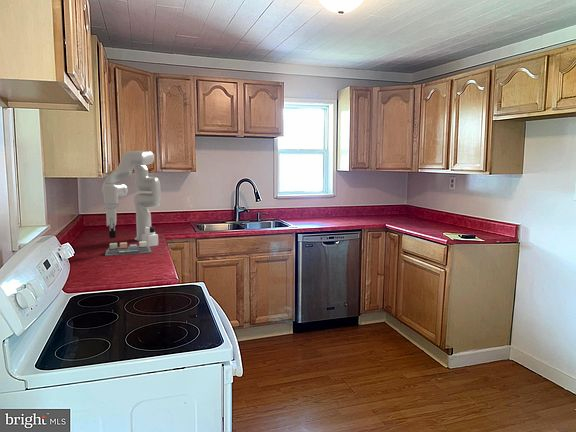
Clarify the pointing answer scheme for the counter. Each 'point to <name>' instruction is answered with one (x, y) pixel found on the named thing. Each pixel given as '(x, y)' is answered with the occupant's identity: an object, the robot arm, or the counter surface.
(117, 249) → the keypad board
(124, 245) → the terracotta key
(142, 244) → the cream key
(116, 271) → the counter surface
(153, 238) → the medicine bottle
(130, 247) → the slate key
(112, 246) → the sage key
